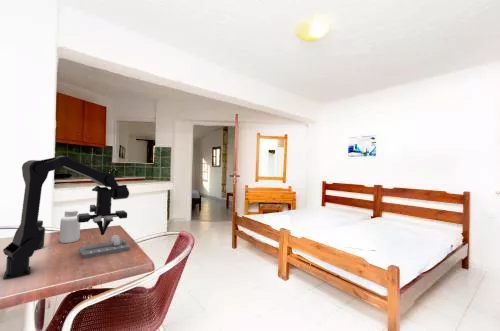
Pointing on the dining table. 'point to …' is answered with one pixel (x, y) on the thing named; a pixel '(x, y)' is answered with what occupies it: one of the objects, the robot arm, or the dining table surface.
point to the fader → (115, 240)
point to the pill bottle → (69, 227)
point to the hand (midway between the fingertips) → (102, 235)
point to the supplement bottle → (43, 234)
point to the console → (102, 249)
